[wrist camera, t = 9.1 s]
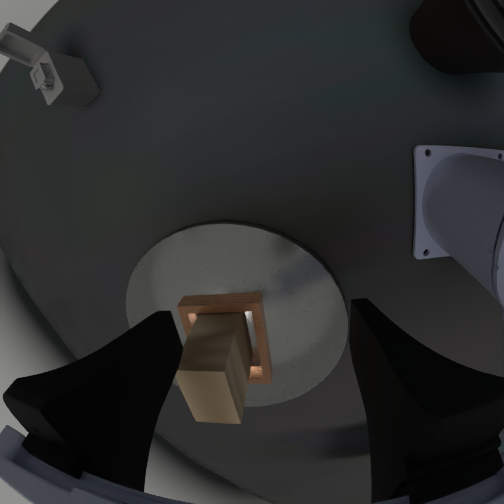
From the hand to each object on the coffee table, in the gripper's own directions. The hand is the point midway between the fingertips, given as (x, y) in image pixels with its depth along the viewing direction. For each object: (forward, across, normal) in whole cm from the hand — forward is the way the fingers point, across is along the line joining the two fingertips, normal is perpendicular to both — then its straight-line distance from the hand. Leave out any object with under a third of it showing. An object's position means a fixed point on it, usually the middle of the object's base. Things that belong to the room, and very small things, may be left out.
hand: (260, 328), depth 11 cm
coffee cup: (+10, -14, -14) cm, 22 cm away
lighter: (+10, +13, -16) cm, 23 cm away
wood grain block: (+8, +4, +6) cm, 11 cm away
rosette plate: (+9, +4, +7) cm, 12 cm away
